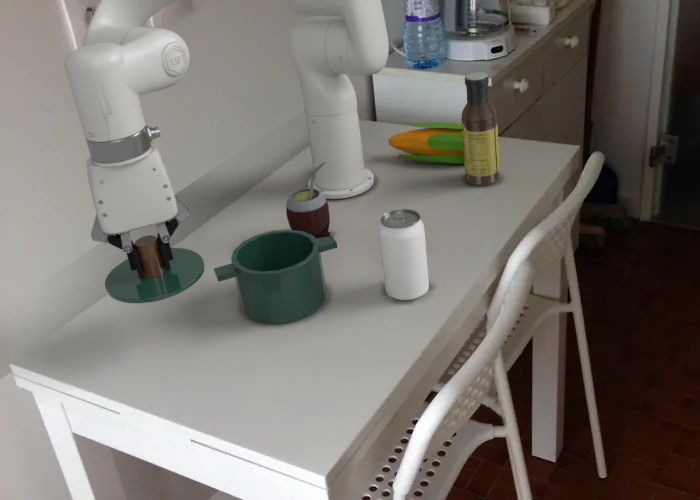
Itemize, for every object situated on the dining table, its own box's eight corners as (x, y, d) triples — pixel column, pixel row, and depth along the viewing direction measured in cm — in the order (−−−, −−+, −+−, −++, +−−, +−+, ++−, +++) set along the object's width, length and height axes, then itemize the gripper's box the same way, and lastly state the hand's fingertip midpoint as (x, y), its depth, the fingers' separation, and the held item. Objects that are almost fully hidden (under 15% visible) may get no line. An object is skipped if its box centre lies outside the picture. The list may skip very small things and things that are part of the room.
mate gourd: (292, 229, 139) (278, 149, 132) (337, 224, 139) (326, 144, 132) (290, 251, 133) (275, 168, 126) (337, 245, 132) (325, 162, 125)
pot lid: (102, 271, 115) (91, 233, 112) (195, 245, 119) (186, 208, 116) (112, 318, 104) (99, 277, 101) (214, 289, 107) (205, 248, 104)
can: (426, 302, 115) (420, 228, 109) (382, 301, 117) (373, 229, 111) (431, 278, 120) (426, 207, 115) (389, 278, 122) (381, 207, 116)
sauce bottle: (478, 169, 152) (473, 66, 142) (506, 176, 148) (503, 71, 138) (458, 182, 148) (451, 77, 138) (486, 190, 144) (482, 82, 134)
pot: (217, 296, 123) (205, 248, 119) (327, 264, 128) (320, 217, 123) (235, 339, 113) (223, 288, 108) (355, 303, 117) (348, 252, 113)
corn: (481, 130, 148) (379, 127, 155) (482, 169, 151) (382, 165, 158) (490, 118, 154) (391, 116, 161) (491, 156, 157) (394, 152, 164)
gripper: (178, 121, 107) (206, 242, 116) (51, 150, 103) (91, 273, 112) (188, 138, 100) (217, 265, 109) (54, 170, 96) (95, 298, 105)
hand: (153, 267), depth 110 cm, fingers closed on pot lid, 3 cm apart
